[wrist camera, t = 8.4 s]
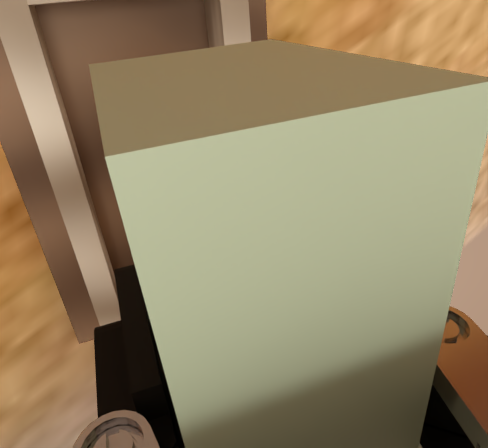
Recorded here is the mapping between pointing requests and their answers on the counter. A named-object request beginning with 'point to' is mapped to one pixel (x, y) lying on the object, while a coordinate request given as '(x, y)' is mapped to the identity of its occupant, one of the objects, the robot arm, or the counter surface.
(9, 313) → the counter surface
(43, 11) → the brown rectangular tray
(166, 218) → the bar
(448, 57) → the counter surface
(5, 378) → the counter surface
